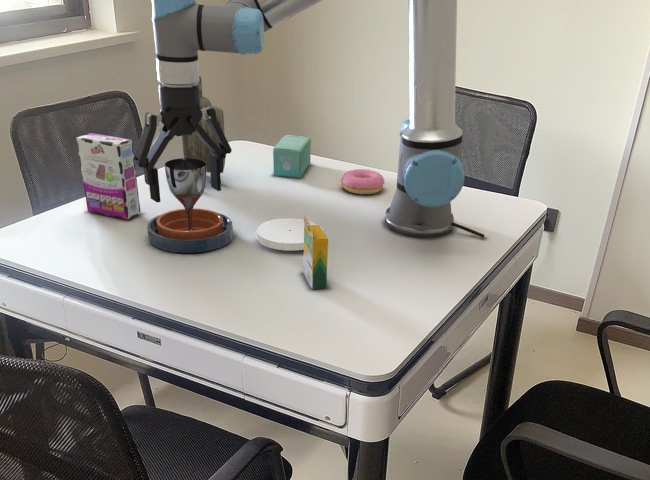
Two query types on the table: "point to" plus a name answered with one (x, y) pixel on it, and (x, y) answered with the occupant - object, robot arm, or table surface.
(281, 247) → the plastic lid
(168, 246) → the serving bowl
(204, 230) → the small bowl
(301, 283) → the table surface
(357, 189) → the doughnut
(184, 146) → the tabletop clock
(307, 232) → the crayon box
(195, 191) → the wine glass
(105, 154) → the candy bar box
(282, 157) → the box
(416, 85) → the robot arm
